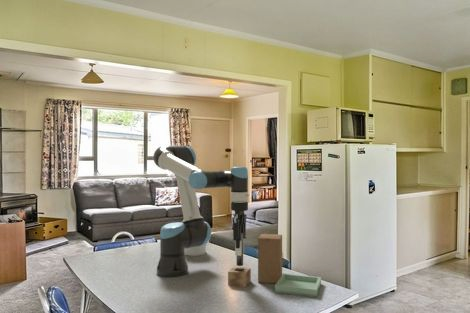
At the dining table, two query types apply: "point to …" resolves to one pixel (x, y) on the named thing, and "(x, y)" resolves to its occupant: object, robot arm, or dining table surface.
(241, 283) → the wooden socket block
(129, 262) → the dining table surface
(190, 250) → the utensil holder
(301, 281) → the tray
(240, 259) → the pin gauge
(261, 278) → the wooden block
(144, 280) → the dining table surface
